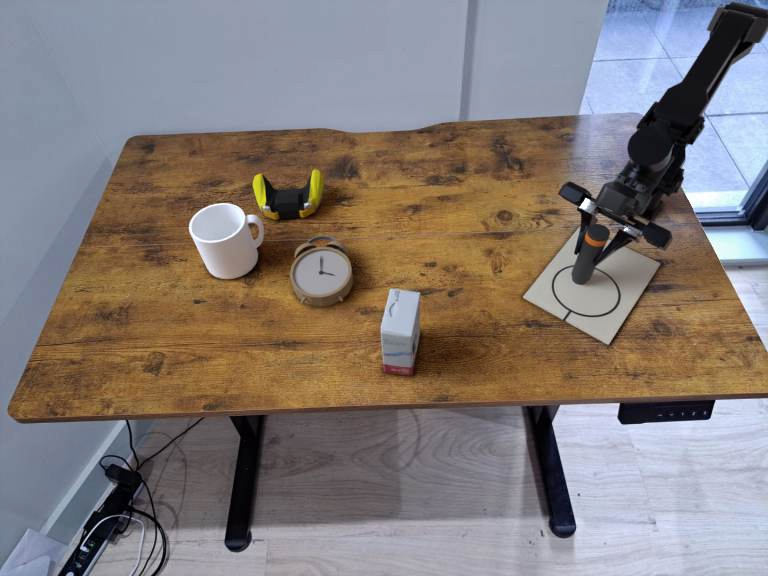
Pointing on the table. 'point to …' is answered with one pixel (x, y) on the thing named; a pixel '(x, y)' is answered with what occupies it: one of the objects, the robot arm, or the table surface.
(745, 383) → the table surface
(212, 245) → the mug
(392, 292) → the ink box
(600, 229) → the marker
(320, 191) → the gaming controller
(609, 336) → the paper sheet
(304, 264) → the alarm clock
